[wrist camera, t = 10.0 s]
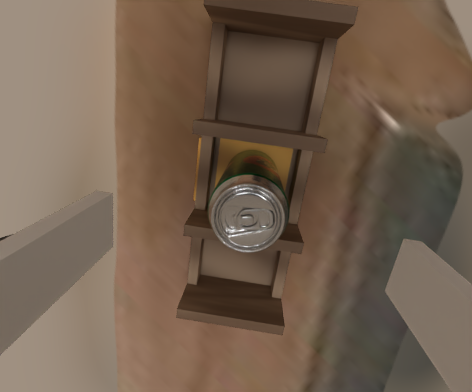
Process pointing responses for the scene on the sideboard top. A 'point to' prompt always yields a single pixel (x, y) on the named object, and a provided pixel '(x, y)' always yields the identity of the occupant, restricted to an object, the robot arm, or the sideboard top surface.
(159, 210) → the sideboard top surface
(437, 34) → the sideboard top surface
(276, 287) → the slot rack
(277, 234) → the soda can
